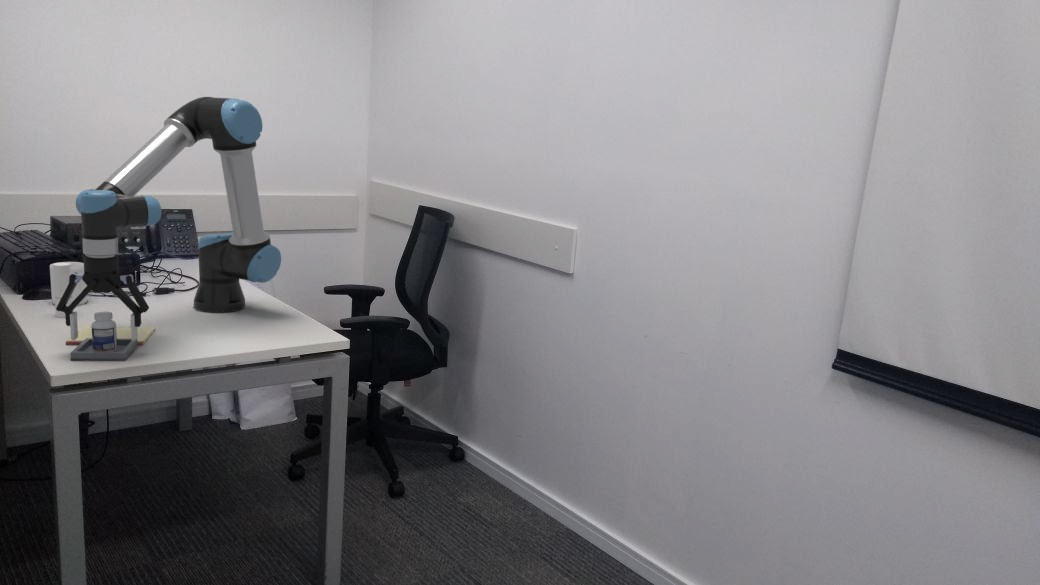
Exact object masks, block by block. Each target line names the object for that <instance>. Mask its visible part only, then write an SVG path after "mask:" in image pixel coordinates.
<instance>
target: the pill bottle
mask: <svg viewBox="0 0 1040 585" xmlns="http://www.w3.org/2000/svg"><path fill="white" fill-rule="evenodd" d="M93 316H94V317H93V319H94V320H95V321H92V323H91V327H92V343H93V352H115V351H116V350H117V334H116V327H117V324H116V321H115V320H113V316H114V315H113V312H112V311H106V310H105V311H98V312H95V313H94V314H93Z"/></svg>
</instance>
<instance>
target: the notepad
mask: <svg viewBox="0 0 1040 585" xmlns="http://www.w3.org/2000/svg"><path fill="white" fill-rule="evenodd" d="M155 331H156V328H155V327H146V326H145V327H144V326H143V327H141V326H139V327H137V335H138V338H137V339H138V346H139V345H142V346H143V345H144V344H146V343H147V341H148V339H149V338H150V337H151V336H152V335H153V333H155ZM116 334H117V338H119V339H131V326H130V327H129V326H127V327H126V326H122V327H121V326H116ZM151 334H152V335H151ZM86 338H92V326H82V327H81V328H80V329H79V330H78V337H77V338H76V339H75V340H71V337H70V338H68V339H67V340H66V341H65V345H66V346H78V345H79V344H81V343H82V342H83V341H84V340H85V339H86ZM146 340H147V341H146Z"/></svg>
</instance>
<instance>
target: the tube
mask: <svg viewBox="0 0 1040 585" xmlns="http://www.w3.org/2000/svg"><path fill="white" fill-rule="evenodd" d="M52 264H53V277H54V294H55V304H54V305H55V306H54V308H55V310H54V311H55V317H56V318H66V316H65V313H64V312H62V311H57V310H56V307H57V305H58V304H59V302H60V300H61V298H62V296H63V294H64V292H65V290H66V288H67V286H68V284H69V276H70V275H71V266H70V263H59V262H55V263H52ZM71 303H72V294H71V296H70V298H69V300H68V302H67V304H66V306H69V305H70V304H71Z"/></svg>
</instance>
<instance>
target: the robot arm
mask: <svg viewBox="0 0 1040 585" xmlns="http://www.w3.org/2000/svg"><path fill="white" fill-rule="evenodd" d="M262 131H263V120H262V116H261V114H260V112H259V111H258V108H256V107H255V106H254V105H253V104H252V103H251V102H250V101H247V100H244V99H239V98H232V97H231V98H230V97H229V98H227V97H212V96H201V97H198V98H195V99H192V100H190V101H189V102H187V103H185V104H184V105H181V107H179V108H178V109H176V110H175V111H174V112H173V113H171V115H169V116H168V117H167V118H166V119H165V120H164V121H163V127H162V128H161V129H160V130H159V131H158V132H157V133H155V134H154V136H152V137H151V138H150V139H149V140H148V141H146V143H145V144H144V145H142V146H141V147H140V148H139V149H138V150H137V151H136V152H135V153H134V154H133V155H131V157H129V158H128V159H127V160H126V161H125V162H123V164H122V165H120V166H119V168H117V169H116V170H115V171H114V172H113V173H112V174H110V176H109V177H107V178H106V180H105V181H103V182H102V183H101V184H99V186H97V187H96V188H95V189H94V188H91V189H84V190H82V191H81V192H79V193H78V195H76V199H75V207H76V210H77V212H78V213H79V214H80V219H81V234H82V235H81V236H82V237H81V238H82V254H84V256H83V257H82V258H83V263H84V275H81V274H78V273H76V272H75V273H73V274H71V275H70V276H69V284H68V286H67V288H66V290H65V292H64V294H63V296H62V298H61V300H60V302H59V304H58V305H57V307H56V310H57V311H62V312H64V313H65V316H66V317H65V324H66V327H69V328H70V338H71V340H75V339H76V338H77V337H78V331H79V330H78V313H77V312H78V311H74V310H75V309H76V308H77V307H78V306H79V305H78V304H79V303H80V302H81V301H82V300H83V299H84V298H85V297H86V296H87V295H89V293H91V291H92V292H93V293H94V294H97V293H104V294H109V293H112V294H113V295H114V296H116V297H117V298H118V299H119V300H120V301H121V302H122V303H123V304H124V305H125V306H126V307H127V308H128V309H129V310H130V311H131V312H132V313H131V315H130V327H131V339H132V341H135V340H136V339H137V338H138V335H137V327H141V325H142V314H143V313H147V312H148V310H149V309H150V306H149V305H148V303H147V301H146V300H145V298H144V296H143V294H142V292H141V291H140V290H139V288H138V286H137V284H136V282H135V277H134V274H133V273H128V274H127V275H121V273H120V265H119V264H120V263H119V261H120V260H119V259H120V258H119V256H118V253H119V240H118V239H119V235H118V231H119V230H118V229H127V228H137V227H147V226H152V225H153V226H154V225H156V224H158V223H159V221H160V220H161V218H162V206H161V203H160V202H159V200H158V199H156V198H155V197H154V196H152V195H140V196H136V195H137V194H138V193H139V192H140V191H141V190H142V189H143V188H144V187H145V186H146V185H148V184H149V183H150V182H151V181H152V180H153V179H154V177H156V176H157V175H158V174H159V173H160V172H161V171H162V170H163V169H165V167H167V166H168V165H169V163H171V162H172V161H173V160H174V159H175V157H177V156H178V155H179V154H180V153H181V152H182V151H183V150H184V149H185V148H191V147H193V146H194V145H195V144H196V143H197V142H199V141H201V140H206V139H209V140H211V142H212V148H213V150H214V151H215V152H216V153H217V154H219V156H220V161H221V167H222V173H223V179H224V184H225V185H224V186H225V192H226V197H227V203H228V204H227V205H228V210H229V216H230V221H231V228H232V232H227V233H226V232H225V233H223V232H222V233H211V234H205V235H202V236H201V237H200V238H199V240H198V247H197V249H198V273H199V283H198V287H197V288H196V289H197V290H196V293H195V295H194V299H193V308H194V309H195V310H197V311H199V312H200V311H201V312H206V313H229V312H230V313H231V312H236V311H240V310H243V309H244V308H246V297H245V295H244V292H243V289H242V286H241V283H240V280H243V281H244V280H245V281H248V282H251V283H261V284H263V283H267V282H270V281H271V280H272V279H273V278H275V276H276V275H277V273H278V271H279V270H280V267H281V265H282V254H281V252H280V251H281V250H279V249H278V247H277V246H276V245H273V244H272V243H271V241H272V240H271V235H270V234H269V233H268V232H266V231H265V230H264V223H263V218H262V211H261V205H260V198H259V197H260V196H259V190H258V185H257V179H256V172H255V165H254V158H253V151H254V150H255V149H256V148H257V141H258V140H259V139H260V138H261V135H262V134H261V133H262ZM80 280H83V281H84V282H85V284H86V285H87V287H86V288H85V289H84V290H83V291H82V292H81V293H80V294H79V295H78V296H77V298H76V299H75V300H74V301H73V302H72V303H71V304H70V305H69V306H66V304H67V302H68V300H69V298H70V296H71V294H72V293H73V291H74V289H75V287H76V285H77V283H79V282H80ZM120 282H123V284H125V285H126V286H127V288H128V290H129V292H130V294H131V295H132V298H133V299H134V300H135V301H134V300H133V299H132V298H131V297H130V296H129V295H128V294H127V293H126V292H125V290H123V288H122V286H120V285H119V284H120ZM56 310H55V311H56Z"/></svg>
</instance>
